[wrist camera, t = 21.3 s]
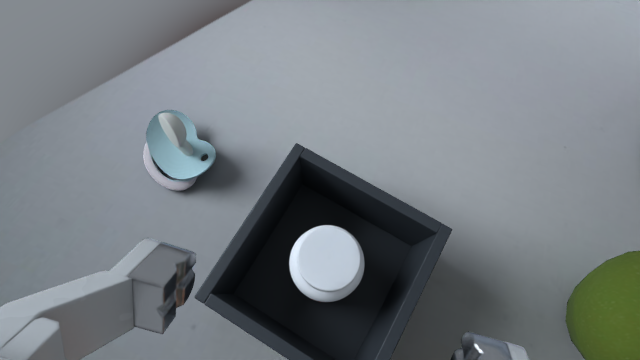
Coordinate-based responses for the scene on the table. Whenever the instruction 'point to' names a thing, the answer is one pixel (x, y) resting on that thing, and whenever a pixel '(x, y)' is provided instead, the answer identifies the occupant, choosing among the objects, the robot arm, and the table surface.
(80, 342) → the robot arm
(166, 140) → the pacifier
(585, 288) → the apple
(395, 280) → the bin
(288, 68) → the table surface
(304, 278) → the pill bottle
